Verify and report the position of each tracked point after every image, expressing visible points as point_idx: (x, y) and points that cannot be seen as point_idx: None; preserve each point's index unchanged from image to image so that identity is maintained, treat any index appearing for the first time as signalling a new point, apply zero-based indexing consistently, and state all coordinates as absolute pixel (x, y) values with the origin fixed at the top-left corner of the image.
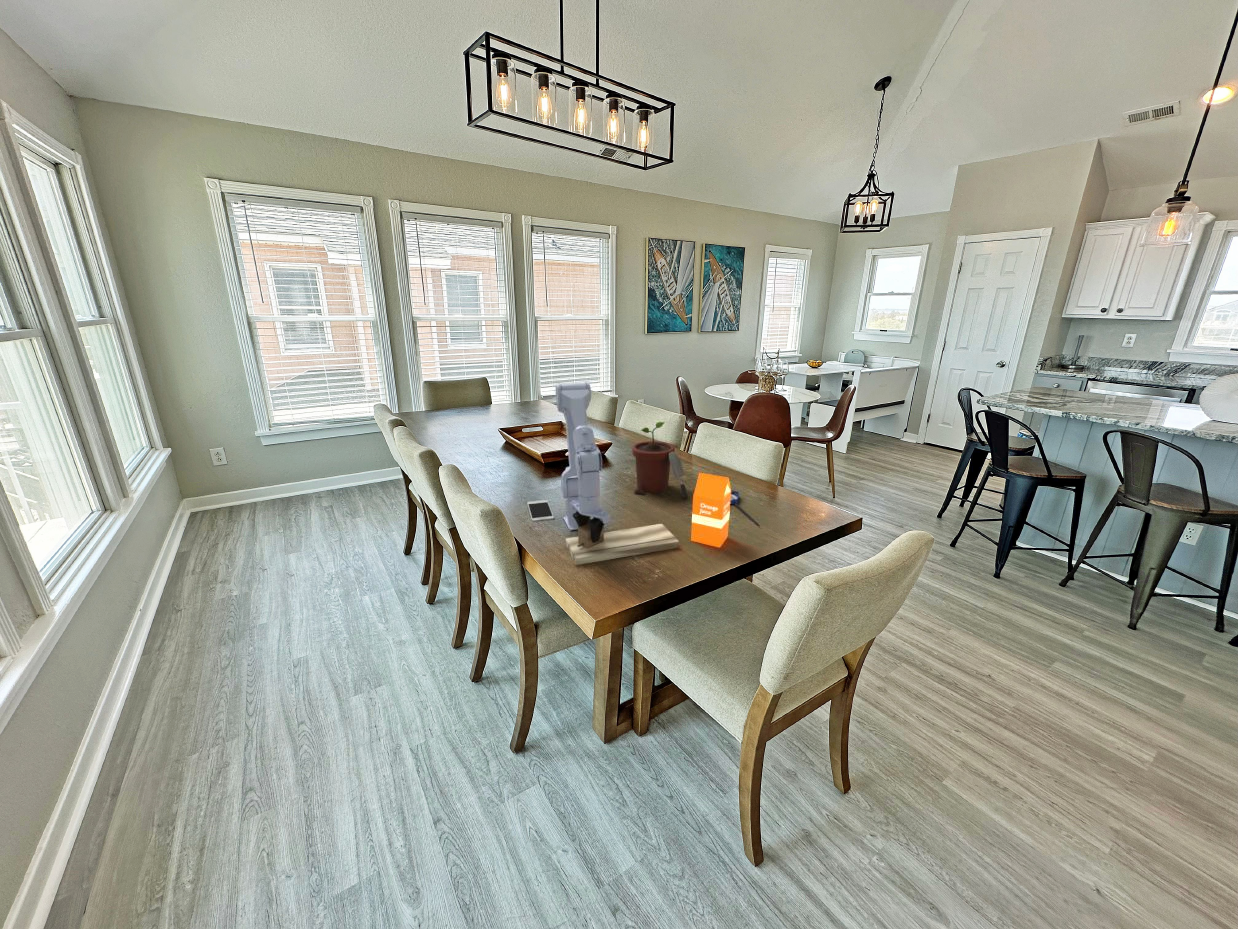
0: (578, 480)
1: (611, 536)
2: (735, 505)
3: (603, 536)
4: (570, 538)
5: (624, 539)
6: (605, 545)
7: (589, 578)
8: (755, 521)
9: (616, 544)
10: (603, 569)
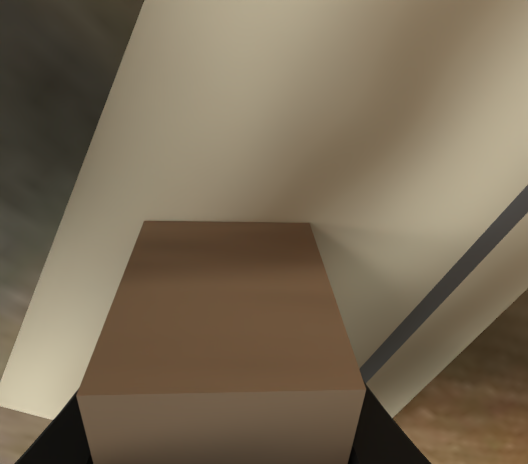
0: None
1: (298, 64)
2: None
3: (320, 260)
4: (19, 381)
5: (506, 3)
6: (380, 266)
7: (461, 458)
8: None
9: (473, 179)
10: (485, 377)
